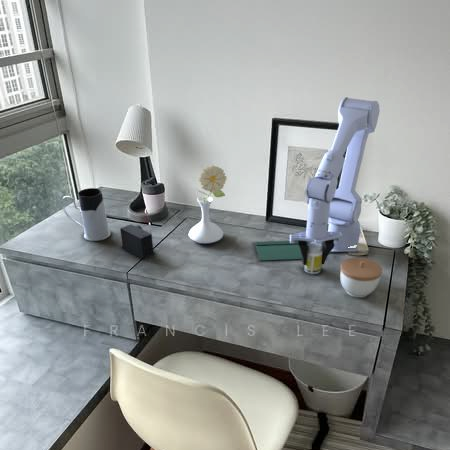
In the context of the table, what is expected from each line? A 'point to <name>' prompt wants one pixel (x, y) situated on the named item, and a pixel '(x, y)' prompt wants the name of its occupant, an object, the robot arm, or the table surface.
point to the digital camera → (137, 240)
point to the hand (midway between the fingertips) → (313, 263)
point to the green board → (278, 250)
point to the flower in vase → (206, 229)
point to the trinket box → (360, 276)
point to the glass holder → (91, 214)
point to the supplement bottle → (314, 258)
